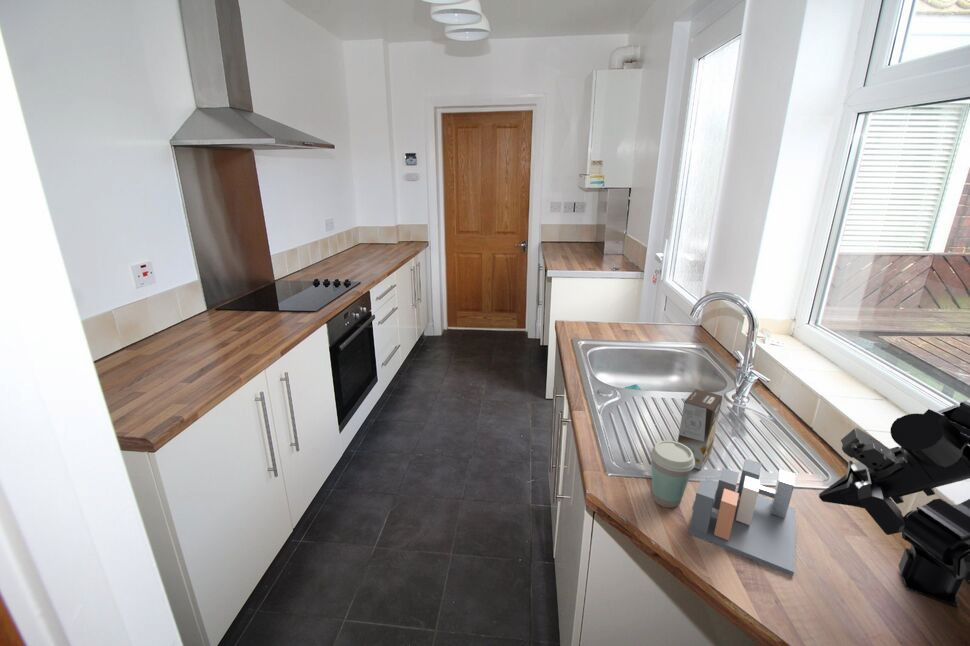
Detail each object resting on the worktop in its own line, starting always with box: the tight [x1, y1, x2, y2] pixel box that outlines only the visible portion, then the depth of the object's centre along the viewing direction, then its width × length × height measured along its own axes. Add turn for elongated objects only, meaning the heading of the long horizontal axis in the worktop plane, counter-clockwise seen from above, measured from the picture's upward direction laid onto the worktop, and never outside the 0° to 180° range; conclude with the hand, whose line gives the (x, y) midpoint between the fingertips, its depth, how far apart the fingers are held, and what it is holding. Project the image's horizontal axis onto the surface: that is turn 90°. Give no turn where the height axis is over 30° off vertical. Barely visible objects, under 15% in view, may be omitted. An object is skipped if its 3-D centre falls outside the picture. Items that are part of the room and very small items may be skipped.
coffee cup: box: [650, 440, 695, 508], centre depth 94 cm, size 8×8×12 cm
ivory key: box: [715, 476, 761, 525], centre depth 89 cm, size 7×4×8 cm, turn 56°
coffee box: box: [677, 388, 723, 470], centre depth 107 cm, size 9×6×16 cm
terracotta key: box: [691, 488, 739, 541], centre depth 85 cm, size 7×4×8 cm, turn 56°
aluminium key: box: [758, 469, 796, 518], centre depth 91 cm, size 7×4×8 cm, turn 56°
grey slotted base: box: [688, 458, 797, 577], centre depth 88 cm, size 17×18×9 cm
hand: (820, 497), depth 78 cm, fingers closed
